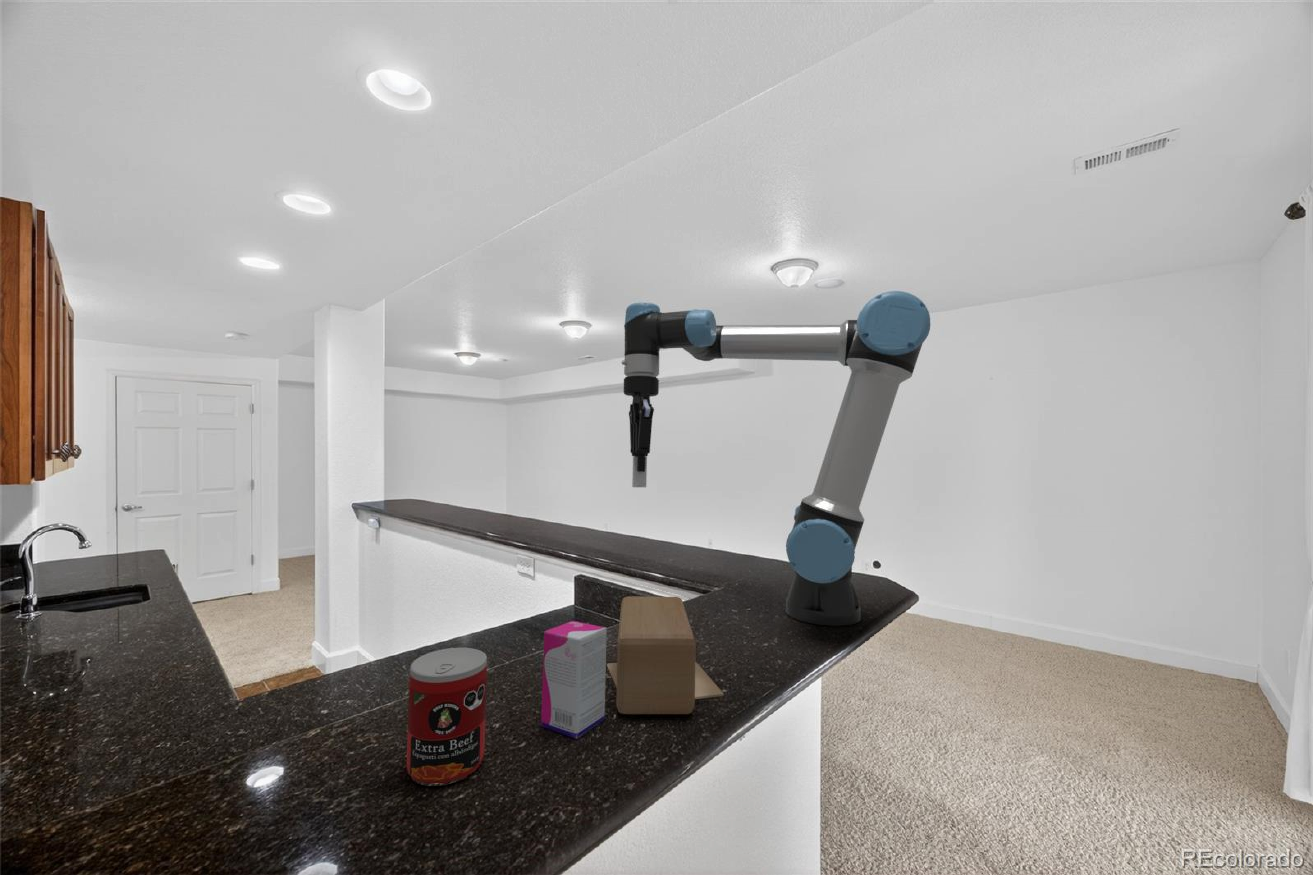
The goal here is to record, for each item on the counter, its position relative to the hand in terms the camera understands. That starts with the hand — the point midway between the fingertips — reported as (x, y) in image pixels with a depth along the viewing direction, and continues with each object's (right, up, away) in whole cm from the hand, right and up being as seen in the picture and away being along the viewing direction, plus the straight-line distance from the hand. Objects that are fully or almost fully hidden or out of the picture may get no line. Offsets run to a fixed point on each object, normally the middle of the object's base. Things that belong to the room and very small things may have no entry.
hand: (639, 487), depth 112 cm
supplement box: (-7, -25, -47) cm, 54 cm away
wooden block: (+3, -20, -26) cm, 33 cm away
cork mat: (+4, -25, -34) cm, 43 cm away
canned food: (-19, -24, -57) cm, 64 cm away
